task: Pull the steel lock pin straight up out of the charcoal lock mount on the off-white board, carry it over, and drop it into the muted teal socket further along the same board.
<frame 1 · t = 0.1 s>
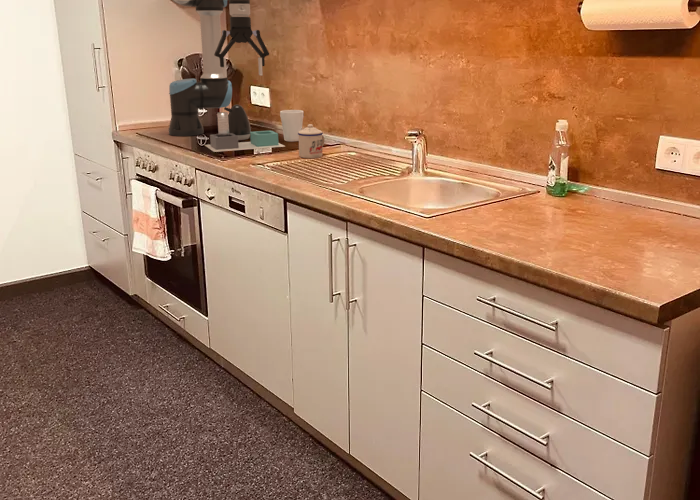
hand: (243, 75, 261), 28 cm above the worktop, tool pointing down, fingers open, 13 cm apart
teacup with lid: (313, 156, 258), on the worktop
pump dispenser: (238, 142, 286), on the worktop
socket: (264, 144, 272), resting on mount board
lock pin: (224, 147, 266), point 1 cm above the worktop, touching mount board
foam cup: (292, 144, 283), on the worktop
mount board: (245, 149, 270), on the worktop
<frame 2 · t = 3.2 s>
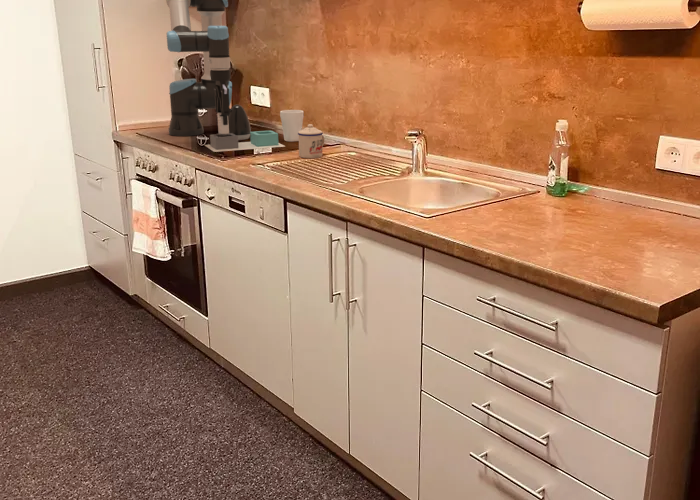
hand: (223, 132, 264), 7 cm above the worktop, tool pointing down, fingers closed on lock pin, 4 cm apart
lock pin: (224, 147, 266), point 2 cm above the worktop, touching gripper, mount board
everything else where it was.
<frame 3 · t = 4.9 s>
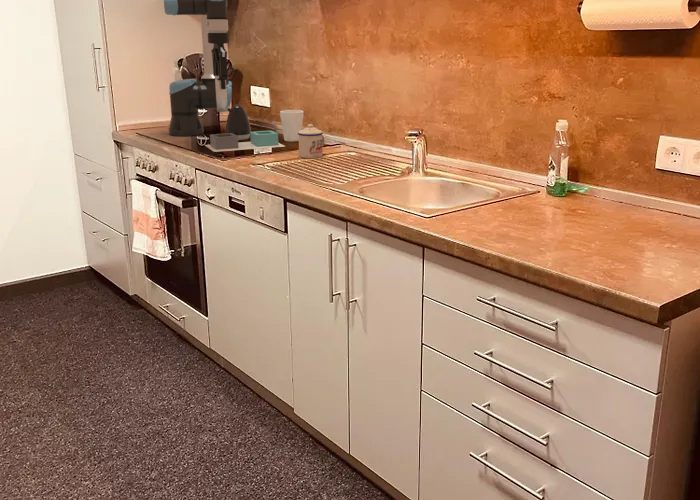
hand: (221, 97, 260), 20 cm above the worktop, tool pointing down, fingers closed on lock pin, 4 cm apart
lock pin: (222, 111, 262), point 15 cm above the worktop, touching gripper
everything else where it was.
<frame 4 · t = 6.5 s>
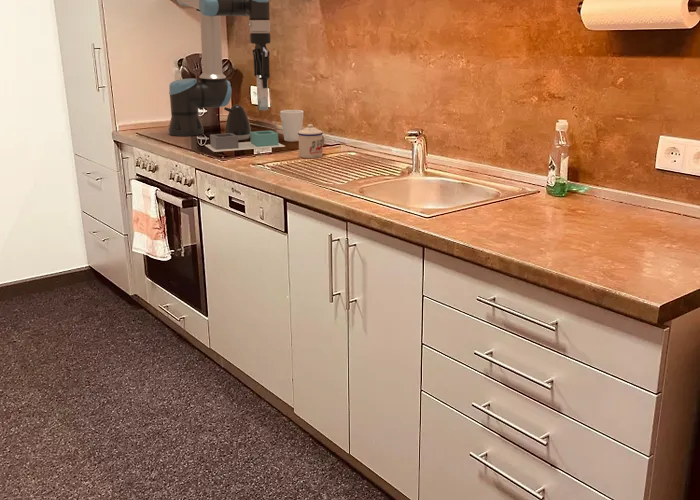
hand: (262, 96, 266), 20 cm above the worktop, tool pointing down, fingers closed on lock pin, 4 cm apart
lock pin: (263, 109, 268), point 15 cm above the worktop, touching gripper
everything else where it was.
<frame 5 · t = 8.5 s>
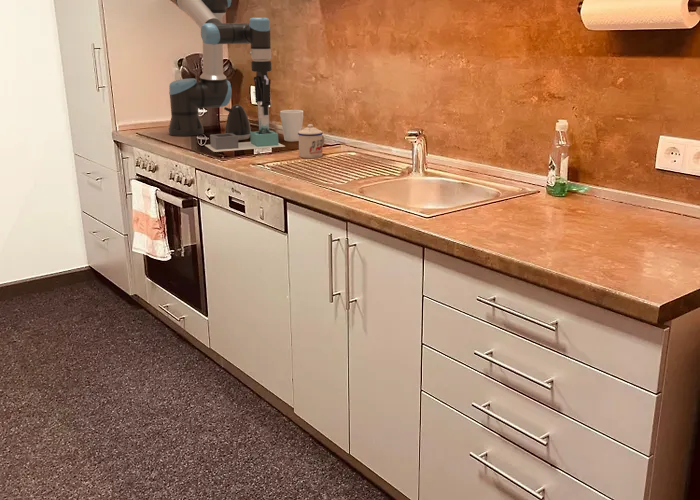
hand: (263, 122, 270), 10 cm above the worktop, tool pointing down, fingers closed on lock pin, 4 cm apart
lock pin: (264, 135, 271), point 5 cm above the worktop, touching gripper
everything else where it was.
when the fingers open (9 cm above the worktop, at t = 9.9 s): lock pin drops 3 cm, resting on mount board.
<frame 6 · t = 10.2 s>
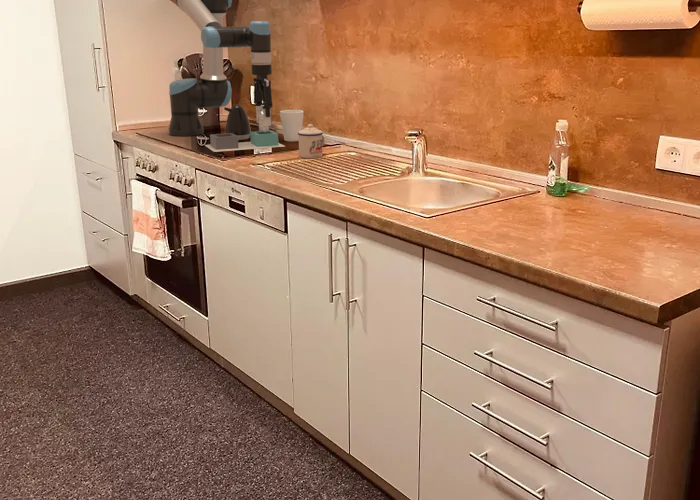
hand: (263, 124, 270), 9 cm above the worktop, tool pointing down, fingers open, 8 cm apart
lock pin: (264, 144, 272), point 2 cm above the worktop, touching mount board
everything else where it was.
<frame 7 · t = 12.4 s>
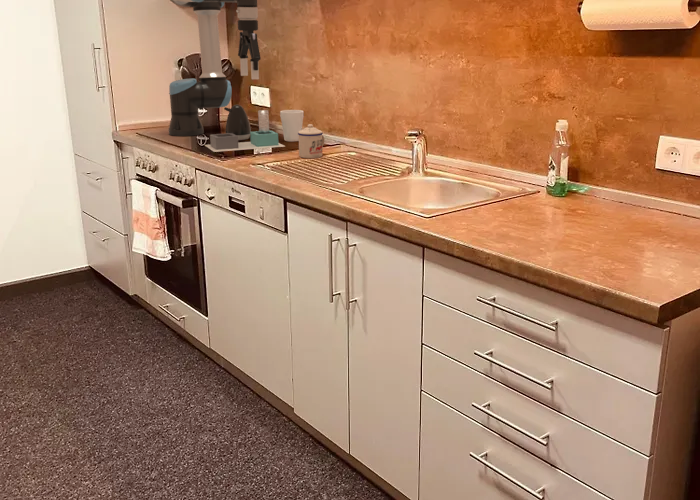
hand: (249, 77, 267), 27 cm above the worktop, tool pointing down, fingers open, 13 cm apart
nothing on the worktop moved.
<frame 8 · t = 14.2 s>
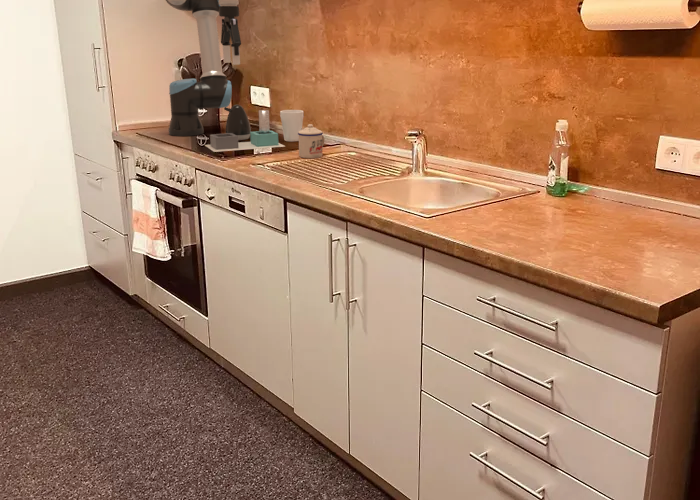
hand: (231, 63, 269), 32 cm above the worktop, tool pointing down, fingers open, 13 cm apart
nothing on the worktop moved.
at the end: lock pin 0.2 cm from the target spot, point 1.5 cm above the worktop; lock pin tilted 1°; the gripper is holding nothing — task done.
